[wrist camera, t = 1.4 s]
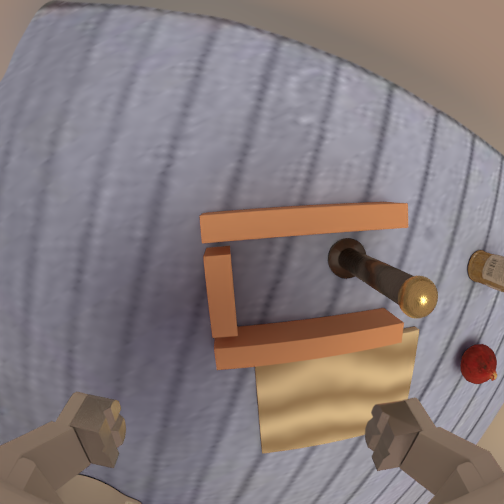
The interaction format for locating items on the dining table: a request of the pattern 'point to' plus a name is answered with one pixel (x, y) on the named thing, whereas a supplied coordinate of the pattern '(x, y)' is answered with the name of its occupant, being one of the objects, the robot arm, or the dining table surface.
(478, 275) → the sprinkles bottle
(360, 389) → the tray
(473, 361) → the onion
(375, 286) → the post stand
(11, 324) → the dining table surface
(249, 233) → the c link
